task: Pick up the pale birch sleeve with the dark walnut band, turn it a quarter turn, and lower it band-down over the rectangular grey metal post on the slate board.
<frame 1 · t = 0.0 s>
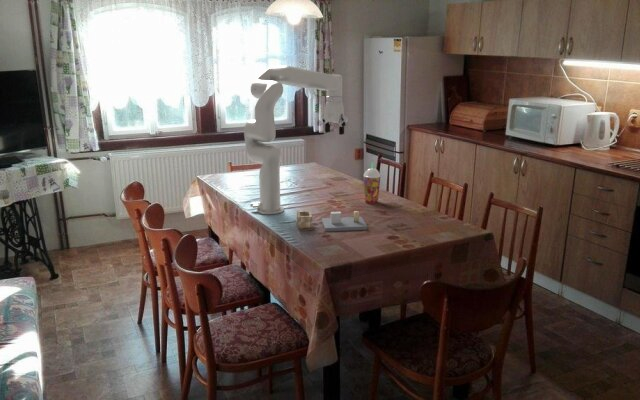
hand: (334, 133, 275), 31 cm above the table, tool pointing down, fingers open, 9 cm apart
pin board: (343, 225, 233), on the table
smoothie: (371, 202, 266), on the table
sleeve: (304, 227, 231), on the table
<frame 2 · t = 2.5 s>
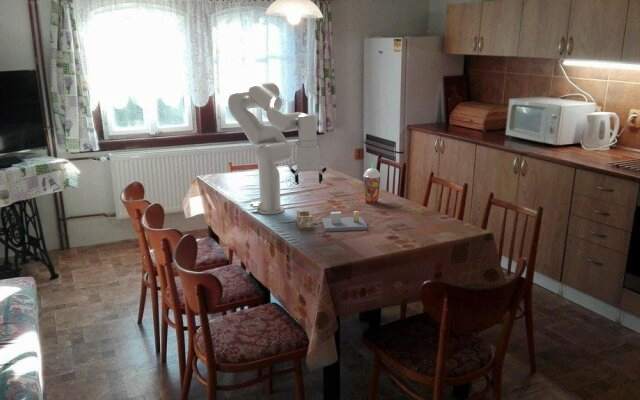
hand: (308, 183, 230), 18 cm above the table, tool pointing down, fingers open, 9 cm apart
nothing on the table moved.
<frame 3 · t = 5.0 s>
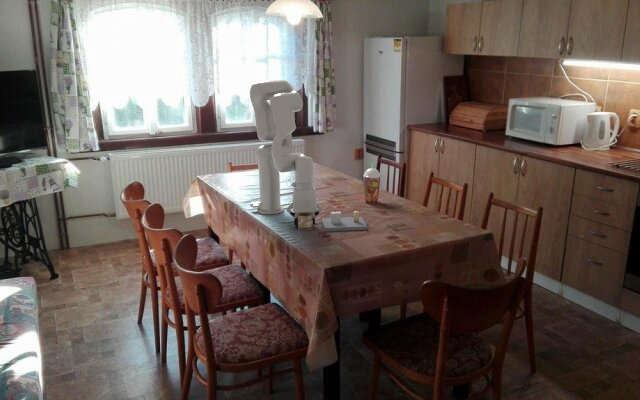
hand: (304, 225, 231), 1 cm above the table, tool pointing down, fingers closed on sleeve, 6 cm apart
sleeve: (304, 227, 231), on the table, touching gripper
everything else where it was.
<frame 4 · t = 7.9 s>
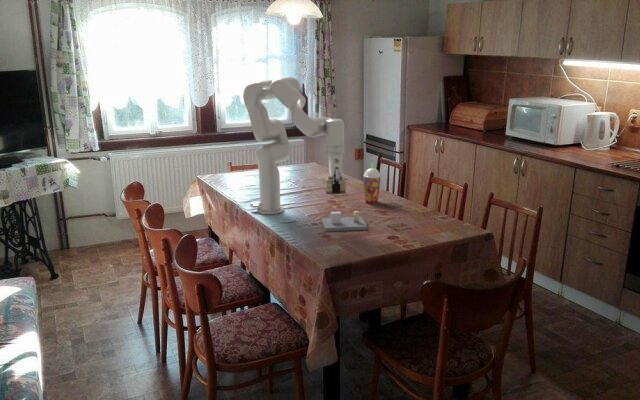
hand: (335, 190, 227), 16 cm above the table, tool pointing down, fingers closed on sleeve, 6 cm apart
sleeve: (335, 192, 228), point 15 cm above the table, touching gripper
everything else where it was.
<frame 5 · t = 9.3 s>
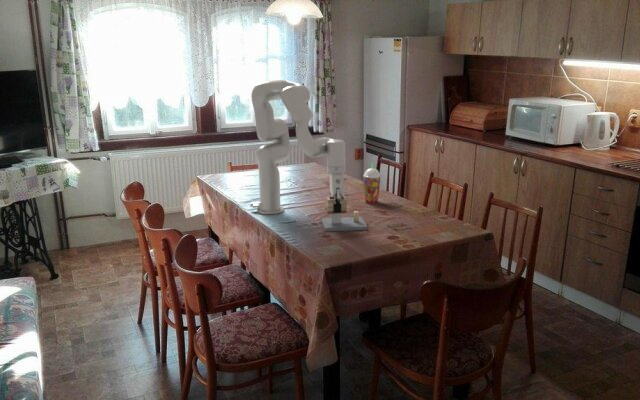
hand: (336, 210, 230), 7 cm above the table, tool pointing down, fingers closed on sleeve, 6 cm apart
sleeve: (336, 211, 230), point 7 cm above the table, touching gripper
everything else where it was.
when the fingers open (3 cm above the table, at t = 10.6 s): sleeve stays where it is, resting on pin board.
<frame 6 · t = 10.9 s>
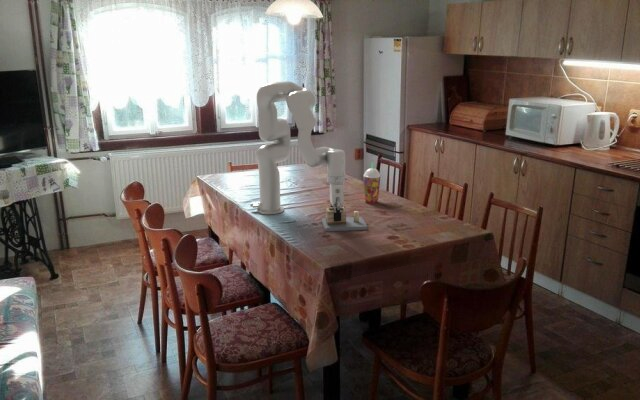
hand: (335, 217, 231), 4 cm above the table, tool pointing down, fingers open, 9 cm apart
sleeve: (335, 222, 232), point 1 cm above the table, touching pin board
everything else where it was.
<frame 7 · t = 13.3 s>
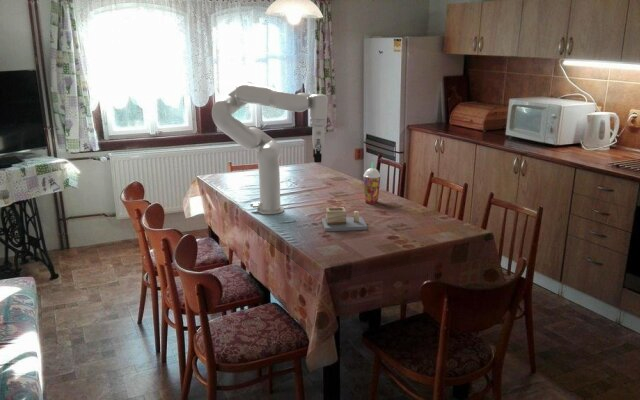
hand: (317, 159, 244), 25 cm above the table, tool pointing down, fingers open, 9 cm apart
nothing on the table moved.
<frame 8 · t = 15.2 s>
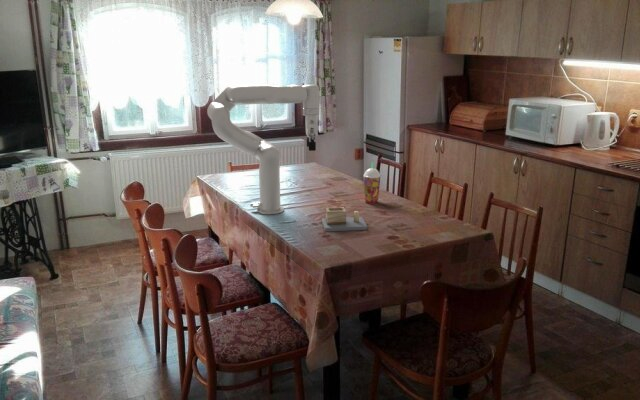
hand: (311, 148, 252), 28 cm above the table, tool pointing down, fingers open, 9 cm apart
nothing on the table moved.
at the end: sleeve 0.0 cm from the target spot on the pin board, point 1.5 cm above the pin board's base; sleeve tilted 0°; the gripper is holding nothing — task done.
